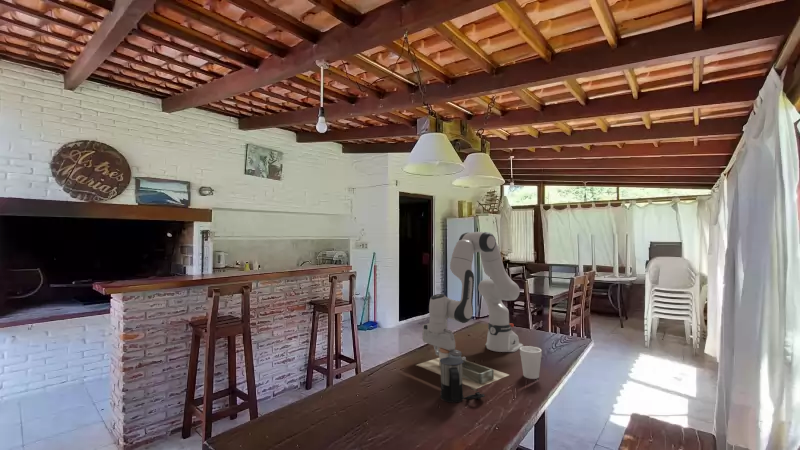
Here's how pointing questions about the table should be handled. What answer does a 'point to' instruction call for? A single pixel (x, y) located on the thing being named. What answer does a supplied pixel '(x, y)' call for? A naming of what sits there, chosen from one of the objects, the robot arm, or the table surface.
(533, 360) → the foam cup
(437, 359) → the cream rippled cloth
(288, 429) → the table surface
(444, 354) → the jar
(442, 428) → the table surface
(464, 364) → the pusher
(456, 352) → the jar
